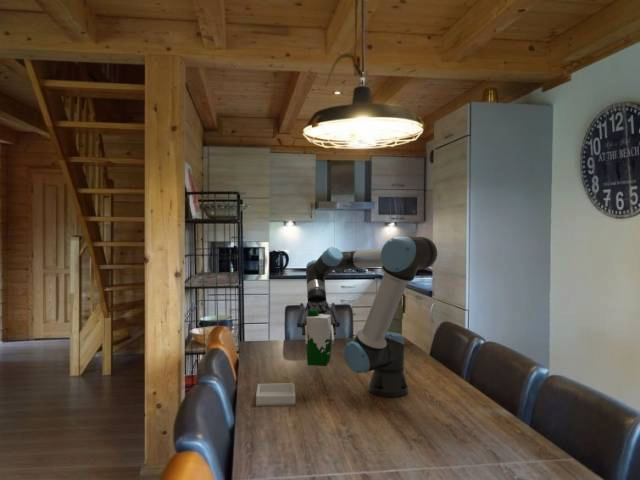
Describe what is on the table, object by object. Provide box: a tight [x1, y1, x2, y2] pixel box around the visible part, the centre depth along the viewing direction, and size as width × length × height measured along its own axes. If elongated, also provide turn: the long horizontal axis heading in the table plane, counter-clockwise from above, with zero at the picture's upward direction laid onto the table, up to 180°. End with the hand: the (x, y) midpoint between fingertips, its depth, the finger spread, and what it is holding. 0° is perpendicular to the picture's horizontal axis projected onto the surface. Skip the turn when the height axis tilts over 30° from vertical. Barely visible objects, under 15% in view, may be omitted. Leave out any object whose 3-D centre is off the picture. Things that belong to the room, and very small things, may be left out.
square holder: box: [255, 382, 296, 407], centre depth 171 cm, size 14×14×4 cm
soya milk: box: [305, 309, 332, 367], centre depth 174 cm, size 9×9×20 cm
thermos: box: [388, 293, 407, 336], centre depth 245 cm, size 9×12×35 cm
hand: (319, 341), depth 170 cm, fingers closed on soya milk, 9 cm apart
